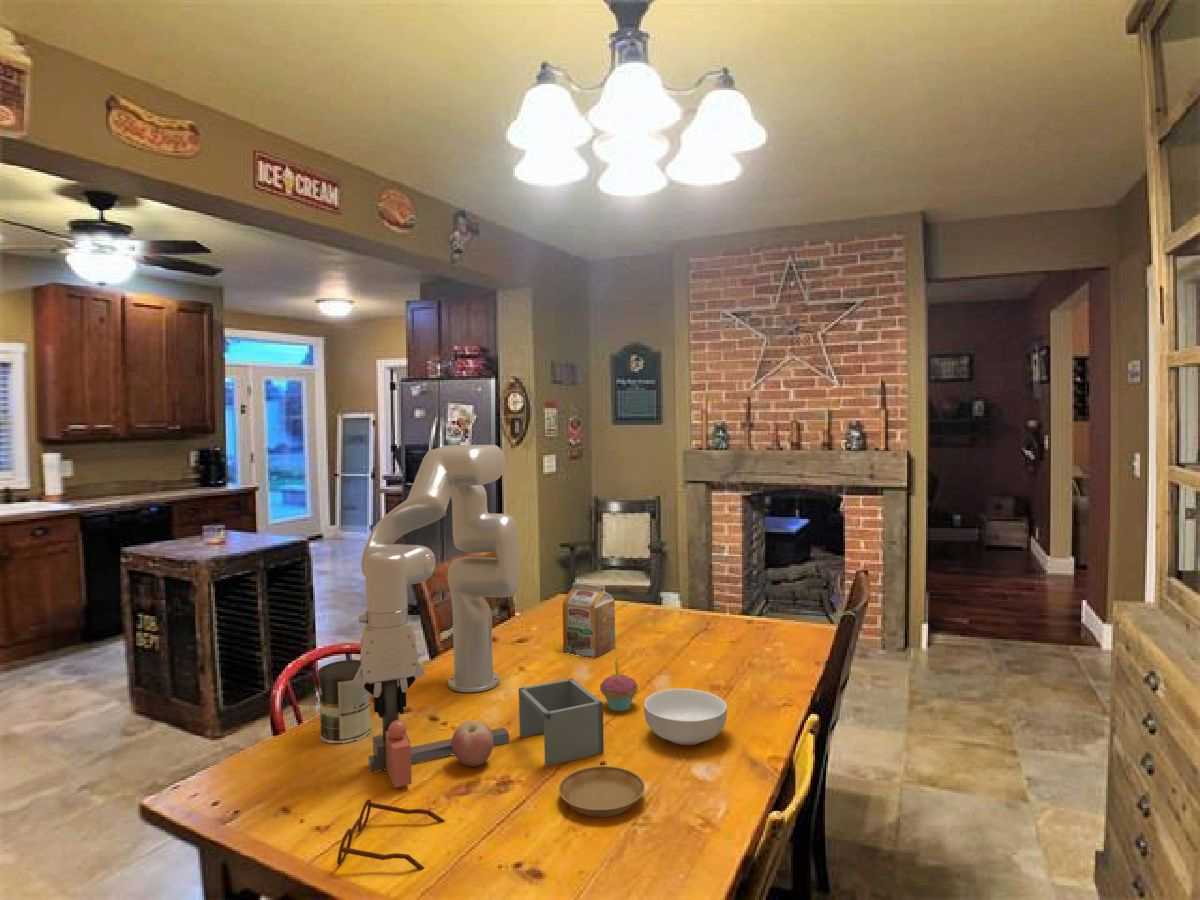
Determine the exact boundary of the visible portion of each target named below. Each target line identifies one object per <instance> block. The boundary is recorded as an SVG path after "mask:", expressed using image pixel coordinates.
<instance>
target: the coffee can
mask: <svg viewBox="0 0 1200 900" xmlns="http://www.w3.org/2000/svg"><path fill="white" fill-rule="evenodd" d="M359 668H360V659H346V660H337V661H333V662H330V663H327V664H325V665H324V666H323V665H322V666H321V667H320V668H318V670H317V676H318V694H319V695H318V697H319V698H318V699H319V720H320V722H319V725H320V729H319V730H320V736H319V737H320V740H321V741H322V740H323V741H322V742H323V743H326V742H327V744H330V743H343V742H349V741H354V740H357V739H360V738H362V737H364V736H366V735H367V734H368V733H369V732H370V731H371V732H372V725H371V721H372V720H371V718H372V717H371V693H369V692H368V691H367V690H365V689H363V688H360V687H357V686H354V684H353V680H354V678H355V676H356V674H357V672H358V670H359ZM363 680H364V679H363ZM371 732H370V733H371ZM370 733H369V734H370ZM369 734H368V735H369ZM368 735H367V736H368ZM367 736H366V737H367ZM364 738H365V737H364ZM362 739H363V738H362ZM360 740H361V739H360ZM357 741H358V740H357ZM354 742H355V741H354Z"/></svg>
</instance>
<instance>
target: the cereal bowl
mask: <svg viewBox="0 0 1200 900" xmlns="http://www.w3.org/2000/svg"><path fill="white" fill-rule="evenodd" d="M643 712H644V713H643V714H644V719H645V722H646V724H647V726H648V727H649V728H650V730H651V731H652V732H653V733H654V734H655V735H657V736H659V737H660V738H662V739H664V740H667V741H669V742H671V743H673V744H676V745H681V746H682V745H683V746H694V745H698V744H700V743H702V742H703V743H704V742H706V741H709V740H711V739H713V738H715V737H716V736H717V735H719V734H720V733H721V731H723V729H724V727H725V725H726V721H727V716H728V705H727V702H726V701H724V699H722V698H721V697H720V696H717V695H716V694H714V693H711V692H709V691H705V690H699V689H693V688H672V689H671V688H670V689H664V690H663V689H662V690H659V691H656V692H654V693H652V694H650V695H649V696H647V697H646V698H645V700H644V702H643Z"/></svg>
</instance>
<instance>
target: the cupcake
mask: <svg viewBox="0 0 1200 900" xmlns="http://www.w3.org/2000/svg"><path fill="white" fill-rule="evenodd" d="M614 662H615V664H614V665H615V666H614V667H615V668H614V669H615V674H613V675H610V676H608V677H606V678H604V679H603V680H602V682H600V684H599V685H600V688H599V691H600V692H601V694H602V695H603V696H604V697H605V699H606V702H607V705H608V708H609V710H610V711H613V710H614V711H613V712H624V711H625V712H626V711H628V710H629V709H630V708H631V704H632V701H633V698H634V697H635V695H636V694H637V693H638V683H637V681H636V680H634V678H632V677H630V676H628V675H625V674H620V672H619V660H618V659H617V657H615V661H614Z"/></svg>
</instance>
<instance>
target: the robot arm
mask: <svg viewBox="0 0 1200 900" xmlns="http://www.w3.org/2000/svg"><path fill="white" fill-rule="evenodd" d="M505 457H506V456H505V454H504V451H503V450H502V449H501V447H499V446H498V445H496V444H447V445H443V446H440V447H437V448H433V449H430V450H429V451H427V452H426V454H425V455H424V457H423V458H422V461H421V463H420V465H419V469H418V471H417V473H416V475H415V478H414V481H413V483H412V486H411V488H410V491H409V493H408V496H407V499H406V500H405V501H403V502H402V503H400V504H398V505H396V507H395V508H393V509H392V510H390V511H389V512H388V513H387V514H386V515H384V516H383V517H382V518H381V519H379V520H378V522H377V523H376V524H375V526H374V527H373V528H372V530H371V532H370V533H369V534H370V535H369V537H368V539H367V542H366V544H365V547H364V549H363V553H362V556H361V561H360V567H361V573H362V574H363V576H364V577H365V604H366V605H365V606H366V609H365V612H364V613H363V614H360V615H358V623H359V624H360V623H364V624H366V625H364V626H363V628H362V633H361V635H362V636H361V643H360V659H359V660H360V668H359V670H358V672H357V674H356V676H355V678H354V680H353V684H354V686H357V687H360V688H363V689H365V690H367V691H368V692H369V693H370V695H372V696H373V710H374V713H375V714H376V713H377V715H378V717H379V719H382V718H383V717H384V707H383V696H382V691H381V682H385V681H391V680H397V679H398V709H399V715H402V714H404V711H405V710H404V708H407V692H408V691H409V688H410V687H411V686H412V685H413V684H414V682H415V681H416V680H417V679H419V678H421V677H422V676H423V675H424V674H425V672H426V671H425V670H424V668H423V666H422V665H421V663H420V662H419V659H418V658H419V657H418V648H417V647H418V645H417V638H416V633H415V632H416V631H415V628H414V624H413V622H412V621H410V620H409V609H408V608H409V607H408V605H409V604H408V602H409V601H408V586H410V585H416V584H422V583H424V582H425V581H428V579H429V578H431V577H432V575H433V573H434V571H435V568H436V564H437V563H436V556H435V553H434V552H433V551H432V549H430V548H429V547H427V546H424V545H420V544H400V543H399V544H396V543H395V542H396V541H398V540H399V539H400V538H401V537H403V536H404V535H406V534H408V533H410V532H412V531H415V530H417V529H421V528H422V527H425V526H428V525H430V524H433V523H435V522H437V521H439V520H441V519H442V518H443V517H444V516H445V514H446V512H447V508H448V507H449V502H450V500H451V507H452V508H451V509H452V510H451V511H452V519H451V520H452V538H453V539H452V540H453V545H454V546H455V548H456V549H457V550H459V551H462V552H466V553H487V554H489V553H491V554H493V553H494V554H495V556H496V557H486V556H465V557H464V556H463V557H459V558H456V559H455V560H453V561H452V562H451V563H450V564H449V566H448V570H447V582H448V588H449V593H450V598H451V607H452V608H451V609H452V635H453V637H452V639H453V640H452V641H453V673H454V674H453V676H451V677H450V678H449V679H448V682H447V685H448V688H449V689H450V690H452V691H455V692H459V693H478V692H485V691H487V690H491V689H494V688H496V686H498V685H499V684H500V681H501V680H500V676H499V674H498V673H495V672H494V663H493V661H494V657H493V656H494V653H493V652H494V651H493V621H492V620H493V618H492V617H493V616H492V610H491V608H490V605H489V603H488V601H487V600H486V599H485V597H486V598H509V597H512V596H514V595H515V594H516V593H517V591H518V589H519V588H518V587H519V584H520V583H519V582H520V558H519V557H520V553H519V546H520V544H519V531H518V530H519V529H518V525H517V523H516V520H515V519H514V517H513V516H511V515H510V514H506V513H489V511H488V496H487V491H486V488H485V487H484V485H487V484H490V483H492V482H496V481H497V480H499V479H500V478H501V476H503V473H504V471H505V468H506V458H505ZM363 679H364V680H363Z"/></svg>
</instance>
